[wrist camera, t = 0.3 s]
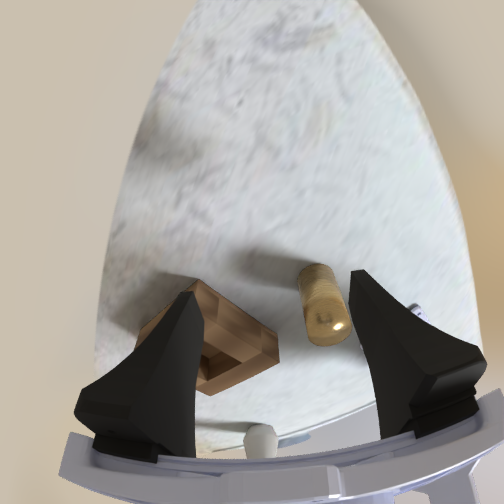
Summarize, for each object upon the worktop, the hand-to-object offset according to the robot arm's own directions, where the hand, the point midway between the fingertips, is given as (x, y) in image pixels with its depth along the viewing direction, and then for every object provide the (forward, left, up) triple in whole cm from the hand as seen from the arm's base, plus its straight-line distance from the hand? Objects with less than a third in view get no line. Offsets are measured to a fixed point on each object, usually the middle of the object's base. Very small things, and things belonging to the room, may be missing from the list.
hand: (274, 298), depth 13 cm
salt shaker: (-29, +27, -9) cm, 41 cm away
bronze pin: (-8, +1, -9) cm, 12 cm away
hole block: (-6, +13, -9) cm, 17 cm away
